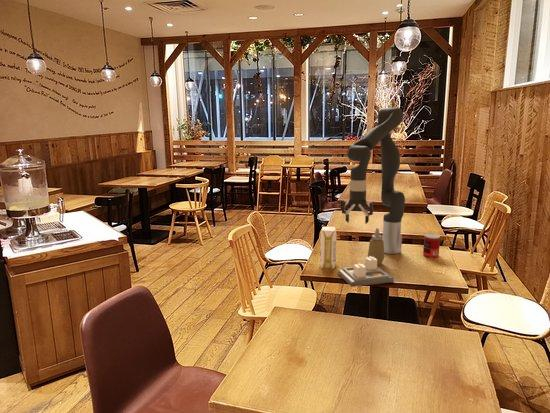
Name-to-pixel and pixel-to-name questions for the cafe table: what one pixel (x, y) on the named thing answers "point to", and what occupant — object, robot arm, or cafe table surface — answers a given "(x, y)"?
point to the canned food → (431, 245)
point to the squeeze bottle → (376, 247)
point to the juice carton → (328, 247)
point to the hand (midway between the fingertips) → (356, 222)
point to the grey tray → (371, 277)
